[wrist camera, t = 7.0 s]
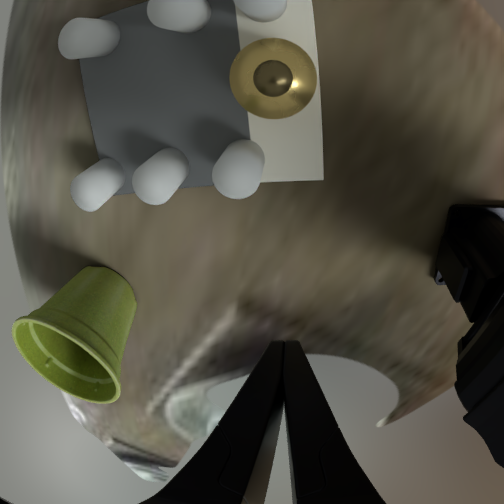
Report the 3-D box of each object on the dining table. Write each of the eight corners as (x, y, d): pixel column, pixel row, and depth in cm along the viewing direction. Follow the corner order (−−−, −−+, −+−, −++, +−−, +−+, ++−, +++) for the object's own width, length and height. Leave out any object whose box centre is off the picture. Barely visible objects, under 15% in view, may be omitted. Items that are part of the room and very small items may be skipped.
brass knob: (310, 40, 14) (314, 36, 12) (314, 111, 16) (319, 118, 14) (234, 45, 14) (225, 41, 12) (241, 114, 17) (233, 122, 14)
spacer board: (307, -21, 12) (312, -40, 9) (322, 176, 19) (328, 201, 16) (72, 31, 14) (36, 32, 11) (105, 193, 21) (78, 217, 18)
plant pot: (82, 225, 23) (17, 296, 15) (175, 295, 25) (139, 383, 18) (54, 287, 27) (8, 351, 20) (130, 342, 30) (98, 413, 23)
